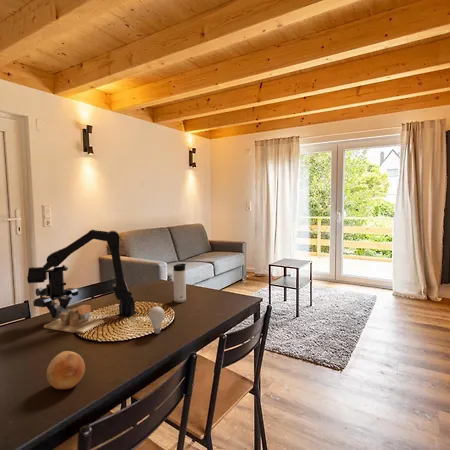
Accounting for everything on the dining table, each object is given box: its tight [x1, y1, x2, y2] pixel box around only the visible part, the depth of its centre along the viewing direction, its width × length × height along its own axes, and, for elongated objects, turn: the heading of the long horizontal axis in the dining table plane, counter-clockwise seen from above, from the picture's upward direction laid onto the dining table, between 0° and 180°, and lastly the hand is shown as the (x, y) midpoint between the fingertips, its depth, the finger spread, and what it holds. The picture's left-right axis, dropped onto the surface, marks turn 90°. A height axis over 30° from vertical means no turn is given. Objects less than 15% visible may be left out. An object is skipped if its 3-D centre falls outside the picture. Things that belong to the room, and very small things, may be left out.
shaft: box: [54, 304, 91, 320], centre depth 133 cm, size 18×4×4 cm, turn 71°
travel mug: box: [172, 263, 187, 304], centre depth 163 cm, size 6×7×20 cm
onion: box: [46, 350, 86, 390], centre depth 88 cm, size 10×10×10 cm
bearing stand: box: [43, 304, 105, 334], centre depth 133 cm, size 21×12×8 cm, turn 71°
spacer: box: [78, 304, 92, 315], centre depth 130 cm, size 2×4×2 cm, turn 161°
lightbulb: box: [148, 305, 165, 335], centre depth 123 cm, size 6×6×11 cm
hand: (58, 316), depth 135 cm, fingers closed on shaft, 4 cm apart
